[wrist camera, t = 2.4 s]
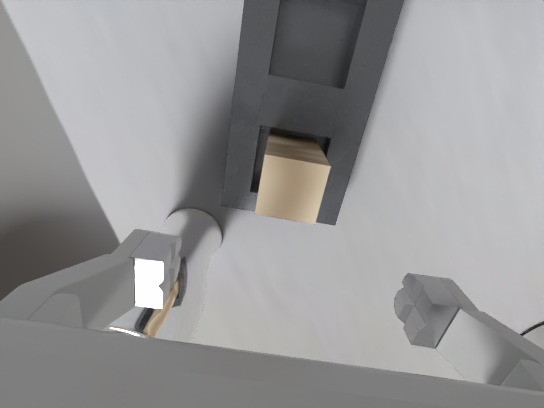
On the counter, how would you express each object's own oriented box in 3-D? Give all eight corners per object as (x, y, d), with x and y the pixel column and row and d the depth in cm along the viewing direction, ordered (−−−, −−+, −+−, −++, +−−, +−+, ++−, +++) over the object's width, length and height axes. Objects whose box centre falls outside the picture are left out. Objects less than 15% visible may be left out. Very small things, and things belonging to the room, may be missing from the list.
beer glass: (169, 192, 28) (62, 305, 14) (236, 219, 29) (196, 349, 15) (152, 248, 30) (47, 387, 17) (213, 270, 31) (162, 420, 18)
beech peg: (315, 139, 24) (330, 166, 17) (305, 182, 26) (315, 224, 19) (269, 130, 24) (264, 154, 17) (262, 175, 26) (254, 214, 18)
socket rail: (280, -235, 17) (280, -317, 13) (444, -195, 17) (486, -264, 14) (227, 190, 28) (220, 207, 24) (328, 208, 28) (335, 227, 25)
